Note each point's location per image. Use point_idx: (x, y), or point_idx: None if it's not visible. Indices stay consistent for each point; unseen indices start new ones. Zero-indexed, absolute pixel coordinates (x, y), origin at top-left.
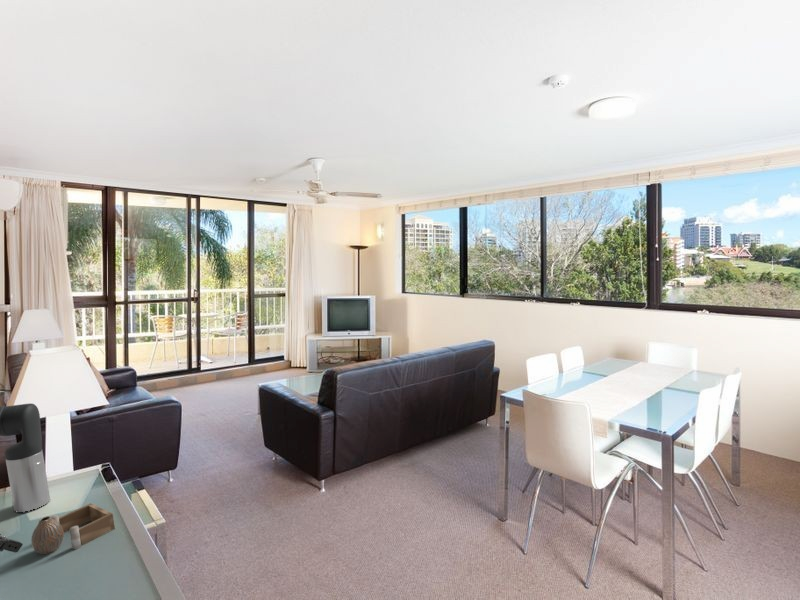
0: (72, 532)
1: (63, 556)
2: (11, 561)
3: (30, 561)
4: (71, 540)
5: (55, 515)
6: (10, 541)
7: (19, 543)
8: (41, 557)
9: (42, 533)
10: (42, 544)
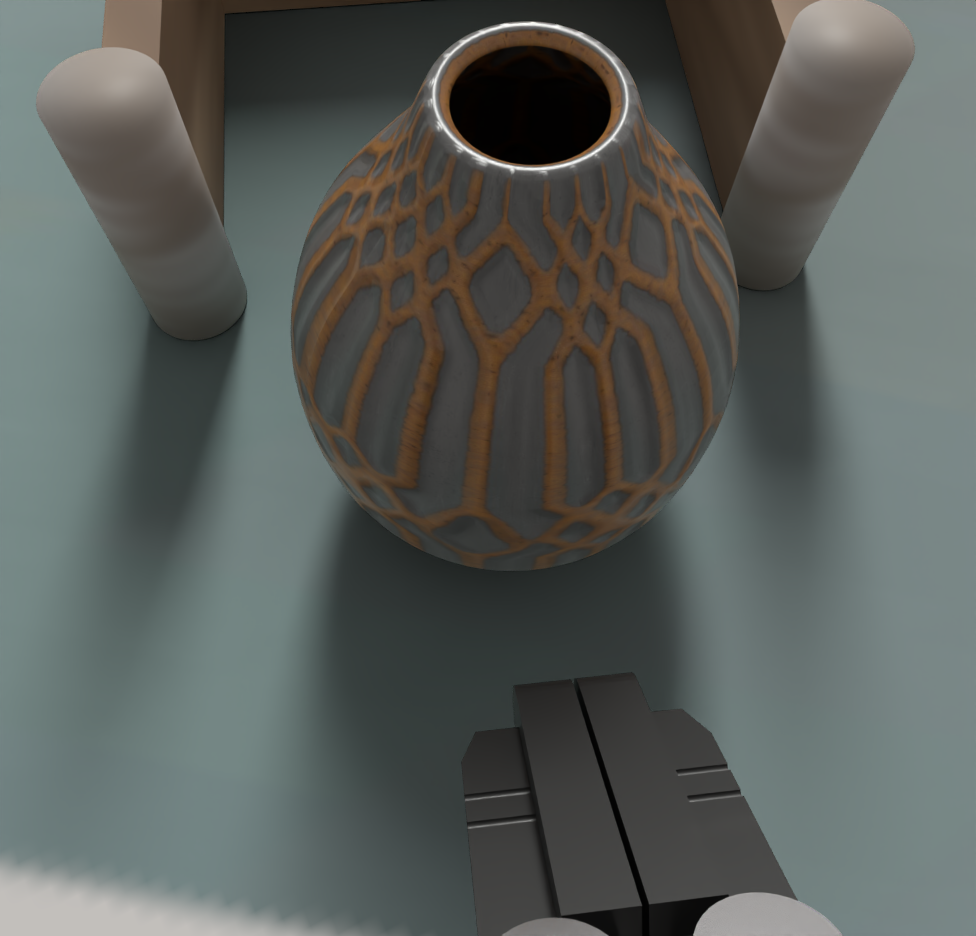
0: (884, 104)
1: (855, 395)
2: (333, 867)
3: None
4: (810, 211)
5: (67, 71)
6: (714, 873)
7: (644, 713)
8: (629, 562)
9: (704, 336)
10: (701, 456)
